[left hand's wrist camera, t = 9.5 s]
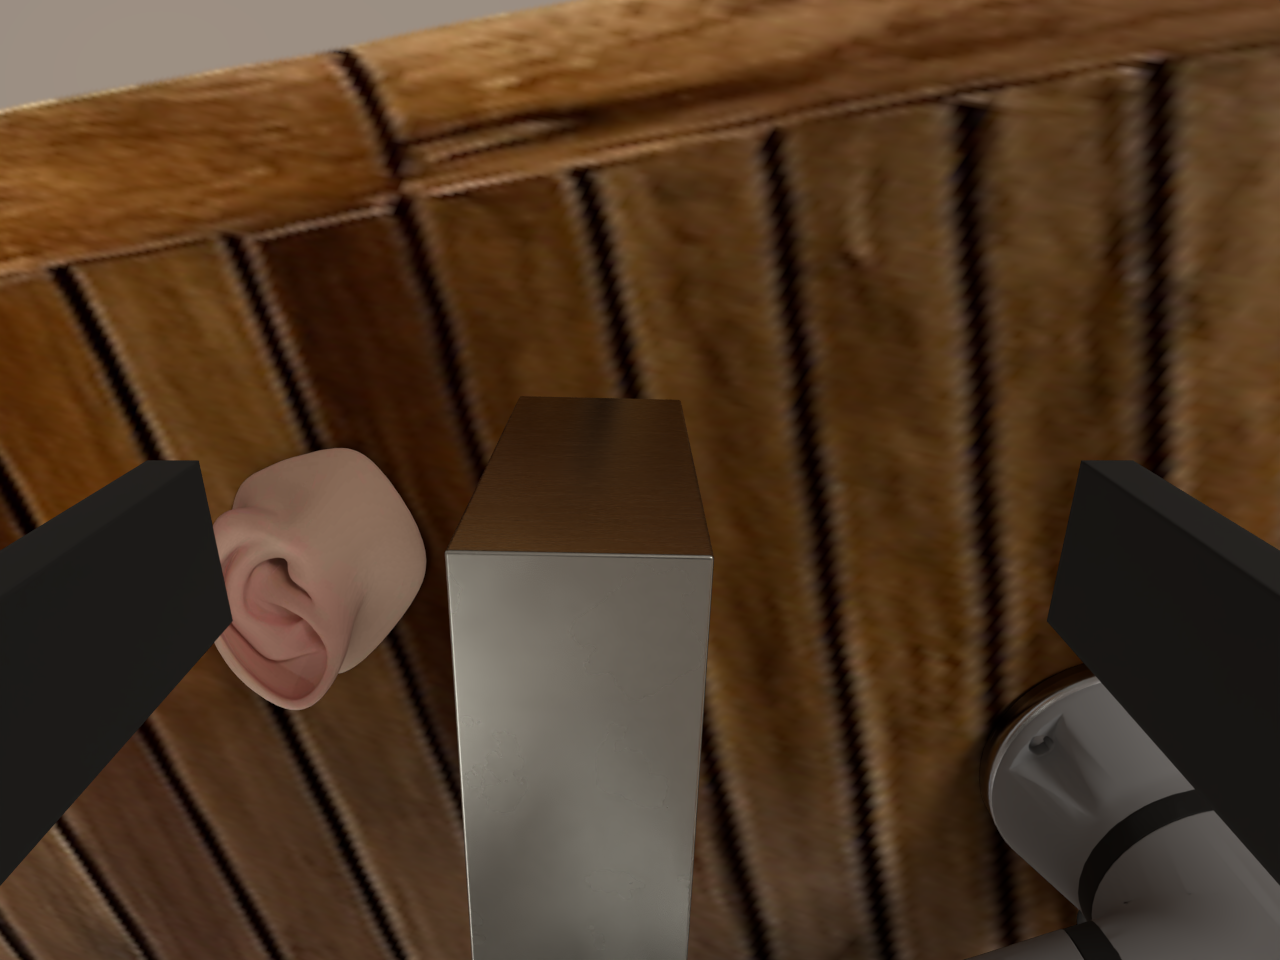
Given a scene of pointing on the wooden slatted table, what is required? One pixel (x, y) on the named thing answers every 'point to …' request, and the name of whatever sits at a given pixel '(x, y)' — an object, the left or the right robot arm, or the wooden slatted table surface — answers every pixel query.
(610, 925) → the box
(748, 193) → the wooden slatted table surface
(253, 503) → the anatomical model
